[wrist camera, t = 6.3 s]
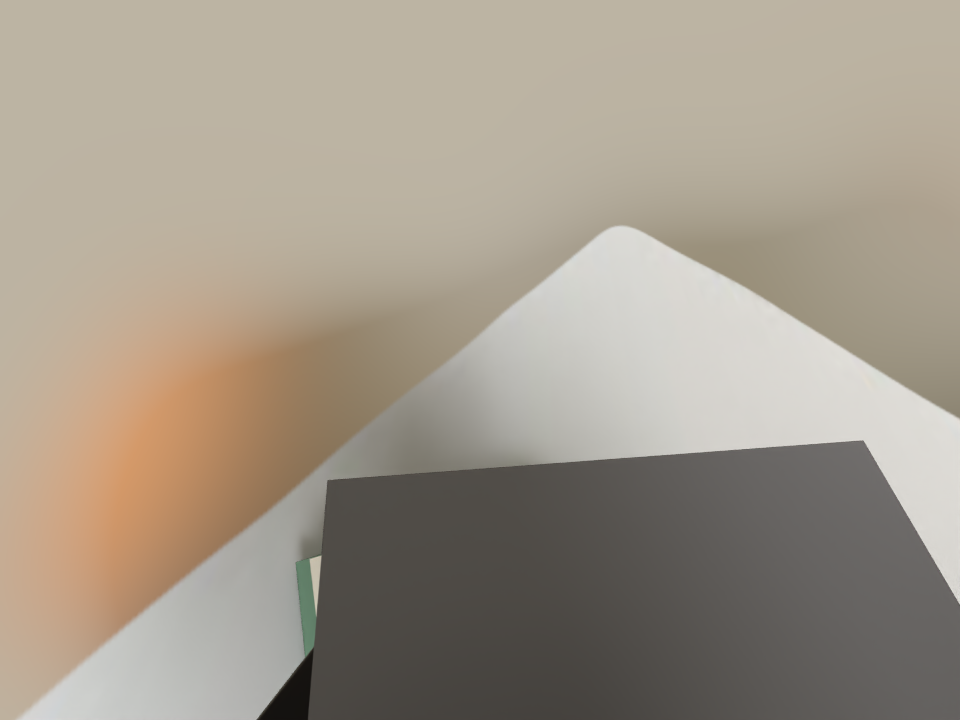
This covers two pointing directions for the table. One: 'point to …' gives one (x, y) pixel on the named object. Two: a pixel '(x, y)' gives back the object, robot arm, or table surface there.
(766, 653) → the block
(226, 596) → the table surface
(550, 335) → the table surface
